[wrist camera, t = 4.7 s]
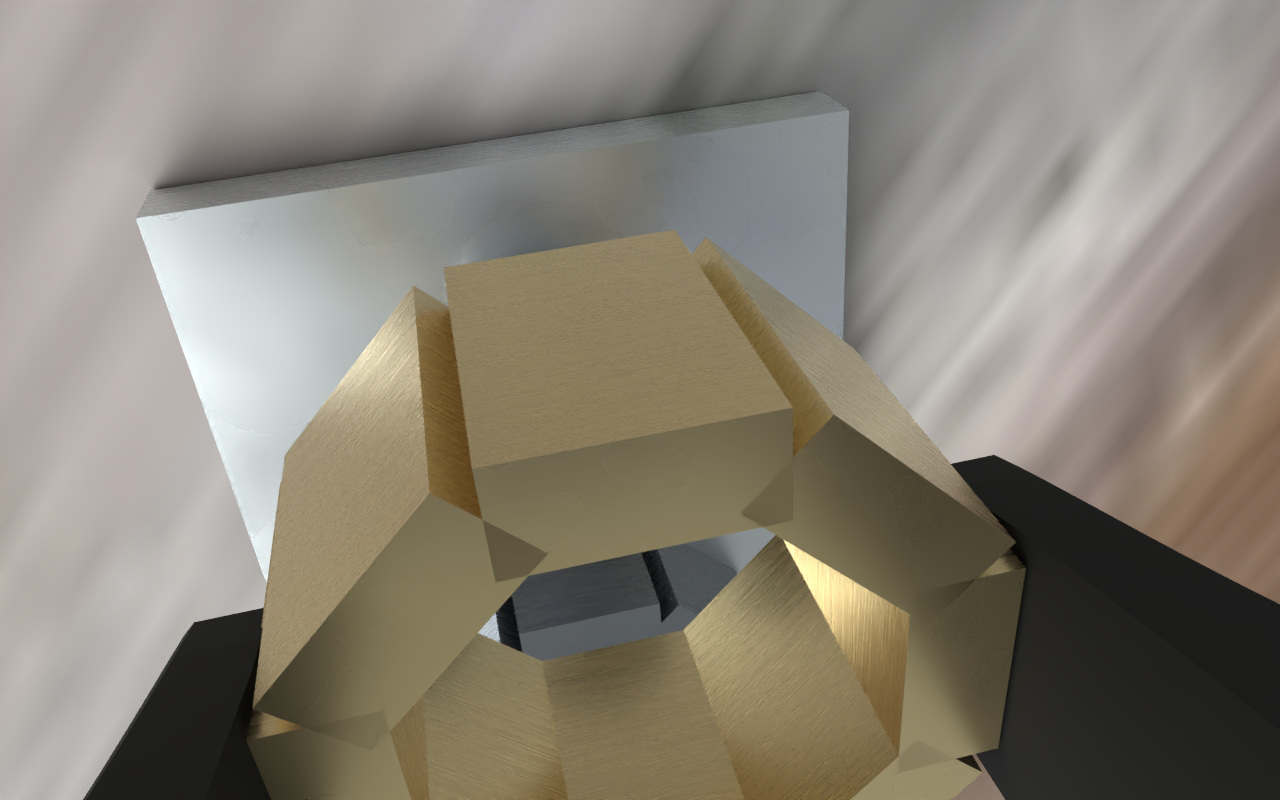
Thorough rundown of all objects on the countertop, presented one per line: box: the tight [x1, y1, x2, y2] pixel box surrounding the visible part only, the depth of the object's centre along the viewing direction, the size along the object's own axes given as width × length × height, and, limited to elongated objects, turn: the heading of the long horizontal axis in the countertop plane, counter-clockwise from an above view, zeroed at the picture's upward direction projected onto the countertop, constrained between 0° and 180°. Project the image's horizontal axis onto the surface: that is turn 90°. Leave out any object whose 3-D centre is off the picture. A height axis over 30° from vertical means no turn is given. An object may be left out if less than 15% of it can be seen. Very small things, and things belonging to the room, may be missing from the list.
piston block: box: [136, 91, 849, 661], centre depth 15 cm, size 9×12×4 cm
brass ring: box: [246, 230, 1026, 800], centre depth 9 cm, size 6×6×3 cm
